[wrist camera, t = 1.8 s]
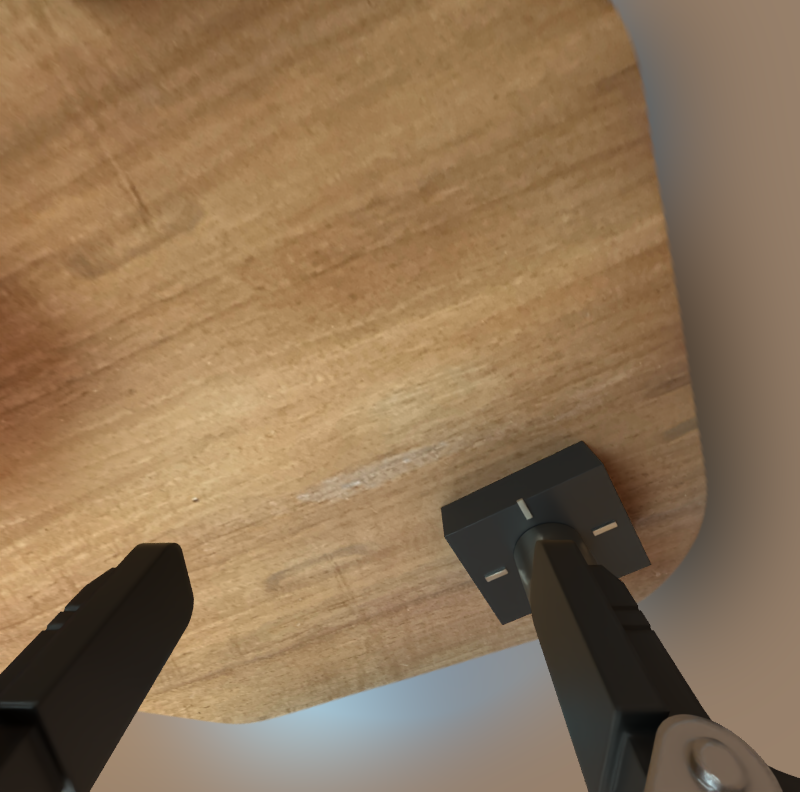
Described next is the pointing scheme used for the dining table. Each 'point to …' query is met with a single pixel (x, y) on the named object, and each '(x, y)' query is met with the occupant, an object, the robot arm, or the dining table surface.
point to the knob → (544, 532)
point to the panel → (534, 505)
